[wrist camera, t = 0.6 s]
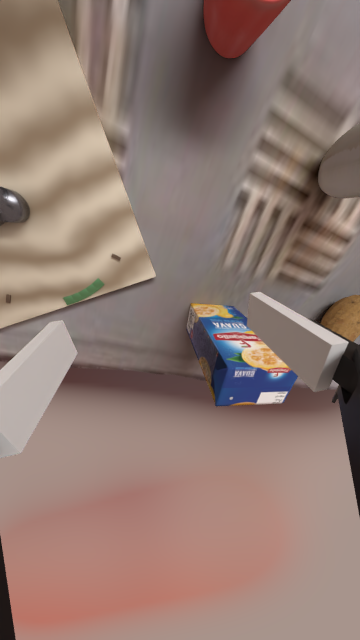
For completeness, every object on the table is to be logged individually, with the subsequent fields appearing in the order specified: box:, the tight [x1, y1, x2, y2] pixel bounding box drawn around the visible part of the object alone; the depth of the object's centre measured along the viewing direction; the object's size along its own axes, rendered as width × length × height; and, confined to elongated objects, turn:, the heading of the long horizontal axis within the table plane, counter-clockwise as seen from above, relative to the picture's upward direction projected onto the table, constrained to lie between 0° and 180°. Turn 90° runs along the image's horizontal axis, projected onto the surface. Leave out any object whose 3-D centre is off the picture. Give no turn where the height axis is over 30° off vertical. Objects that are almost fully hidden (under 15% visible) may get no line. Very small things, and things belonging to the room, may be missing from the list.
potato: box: [320, 295, 360, 342], centre depth 46 cm, size 10×14×8 cm
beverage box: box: [187, 303, 298, 406], centre depth 34 cm, size 7×11×22 cm, turn 83°
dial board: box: [0, 0, 156, 328], centre depth 28 cm, size 34×34×2 cm
